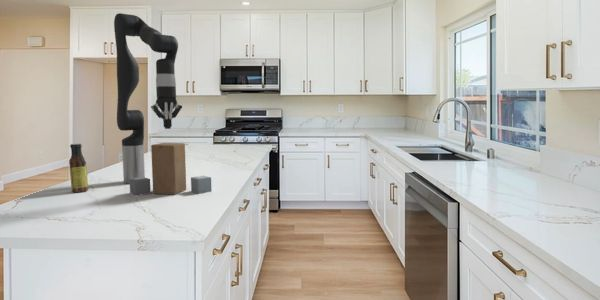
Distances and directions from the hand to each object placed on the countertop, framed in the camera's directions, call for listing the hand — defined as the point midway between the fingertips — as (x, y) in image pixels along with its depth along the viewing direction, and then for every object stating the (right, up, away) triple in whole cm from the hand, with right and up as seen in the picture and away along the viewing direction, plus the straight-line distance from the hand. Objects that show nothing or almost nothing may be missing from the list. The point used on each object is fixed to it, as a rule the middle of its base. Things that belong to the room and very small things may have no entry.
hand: (167, 128), depth 173 cm
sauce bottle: (-38, -26, +4) cm, 46 cm away
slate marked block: (+13, -26, +4) cm, 29 cm away
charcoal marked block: (-11, -27, +1) cm, 29 cm away
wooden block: (0, -26, +3) cm, 26 cm away
